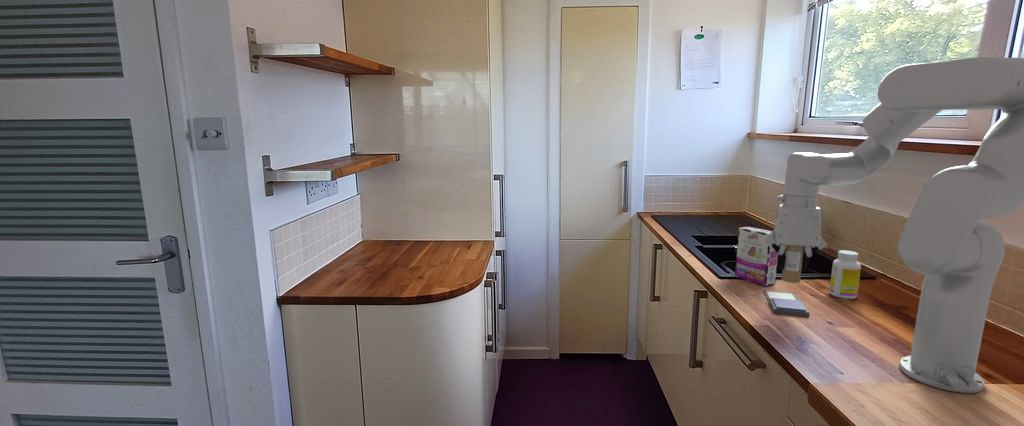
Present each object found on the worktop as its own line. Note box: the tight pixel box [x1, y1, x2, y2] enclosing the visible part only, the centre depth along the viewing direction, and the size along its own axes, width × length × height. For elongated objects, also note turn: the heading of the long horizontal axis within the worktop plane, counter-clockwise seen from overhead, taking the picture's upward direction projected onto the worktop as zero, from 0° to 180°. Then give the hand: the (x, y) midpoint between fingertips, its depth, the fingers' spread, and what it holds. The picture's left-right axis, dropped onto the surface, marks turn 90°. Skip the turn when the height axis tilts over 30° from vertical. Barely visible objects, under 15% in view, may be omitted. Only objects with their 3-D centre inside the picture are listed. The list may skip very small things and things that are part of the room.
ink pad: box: [768, 298, 811, 318], centre depth 128 cm, size 8×8×2 cm
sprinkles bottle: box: [780, 245, 804, 284], centre depth 126 cm, size 5×5×14 cm
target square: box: [763, 289, 799, 302], centre depth 137 cm, size 8×8×1 cm
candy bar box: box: [734, 225, 778, 287], centre depth 150 cm, size 11×5×16 cm, turn 27°
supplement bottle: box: [829, 249, 862, 300], centre depth 137 cm, size 7×7×13 cm
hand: (791, 268), depth 126 cm, fingers closed on sprinkles bottle, 4 cm apart
